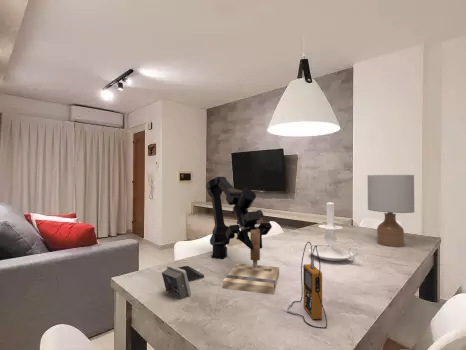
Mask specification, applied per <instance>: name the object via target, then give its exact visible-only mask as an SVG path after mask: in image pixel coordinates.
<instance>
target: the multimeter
mask: <svg viewBox="0 0 466 350" xmlns="http://www.w3.org/2000/svg"><path fill="white" fill-rule="evenodd" d="M308 244H309V245H310V248H311V253H310V263H309V264H308V263H307V264H303V261H304V256H305V255H304V254H305V252H306V248H307V245H308ZM313 247H314V249H315V247H316V251H317V247H318V246H317V245H315V246H312V243H311V241H307V242H306V243H305V246H304V248H303V252H302V253H303V254H302V257H301V265H300V276H301V277H300V280H301V283H300V284H301V285H302V287H301V299H300V300H295V301H292V302H291V303H290V304H289V305H288V307H287V310H286V309H284V308H281V310H282V311H284V312H287V313H290V314H293V315H298V316H300V317H302V318H303V322H304V323H306V324H307V325H308V326H310V327H313V328H318V329H326V328H327V327H328V319H327V315H326V311H325V309H324V305H323V273H322V271H321V258H319V255H318V252H317V255H318V257H317V258H318V265H319V269H318V268H317V267H316V266H315V259H314V257H313V254H312V248H313ZM314 249H313V252H314ZM301 302H303V308H304V310H306V312H307V314H308V315H309V316H310V318H311V320H322V319H323V313H324V317H325V324H326V325H325V326H317V325H316V326H315V325H311V324H310V323H308V322H307V321H306V320H305V316H304V315H302V314H299V313H296V312H295V311H291V310H289V308H291V307H292V306H293V304H294V303H301Z"/></svg>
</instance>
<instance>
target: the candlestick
mask: <svg viewBox="0 0 466 350" xmlns="http://www.w3.org/2000/svg"><path fill="white" fill-rule="evenodd" d="M325 211H326V224H320V225H317V226H318V228H321V229H323V230H325V231H326V232H325V234H324V237H323V238H324V239H323V240H324V242H325V243H326V244H327V246H317V251H316V247H315V246H312V256H315V257H317V258H318V255H319V259H320V260H325V261H330V262H341V261H345V260H347V261H351V262H352V261H354V260H355V258H356V257H357V256H358V249H359V247H357V246H348V248H347V249H345V248H341V247H334V245H335V244H336V242H337V236H336V234H335V231H337V230H341V229H343V228H344V227H343V226H341V225H337V224H335V223H334V222H335V221H334V219H335V203H334V202H330V201H329V202H326V209H325ZM334 224H335V225H334ZM314 247H315V249H314ZM313 249H314V252H313ZM350 249H353V250H354V252H355V253H353V252H352V251H350ZM308 252H309V253H310V254H311V247H310V248H309V249H308ZM317 252H318V255H317Z"/></svg>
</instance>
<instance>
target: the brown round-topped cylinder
mask: <svg viewBox="0 0 466 350" xmlns="http://www.w3.org/2000/svg"><path fill="white" fill-rule="evenodd" d="M250 241H251V243H252V245H253V250H251V249H250V248H249V249H250V254H249V255H250V260H251V261H252V265H253V267H257V265H258V261H260V260H261V249H260V230H259V229H251V232H250Z"/></svg>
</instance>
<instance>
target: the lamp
mask: <svg viewBox="0 0 466 350" xmlns="http://www.w3.org/2000/svg"><path fill="white" fill-rule="evenodd" d="M367 210H368V211H372V212H378V213H383V214H384V219H383V221H382V222H381V223H379V224H378V225H377V228H376V234H377V235H376V243H377V244H378V245H381V246H386V247H391V248H392V247H393V248H394V247H395V248H399V247H404V246H405V229H404V228H403V227H402V225H401V224H399V222H397V218H396V215H397V214H413V213H415V174H373V175H372V174H369V175H367Z"/></svg>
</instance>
